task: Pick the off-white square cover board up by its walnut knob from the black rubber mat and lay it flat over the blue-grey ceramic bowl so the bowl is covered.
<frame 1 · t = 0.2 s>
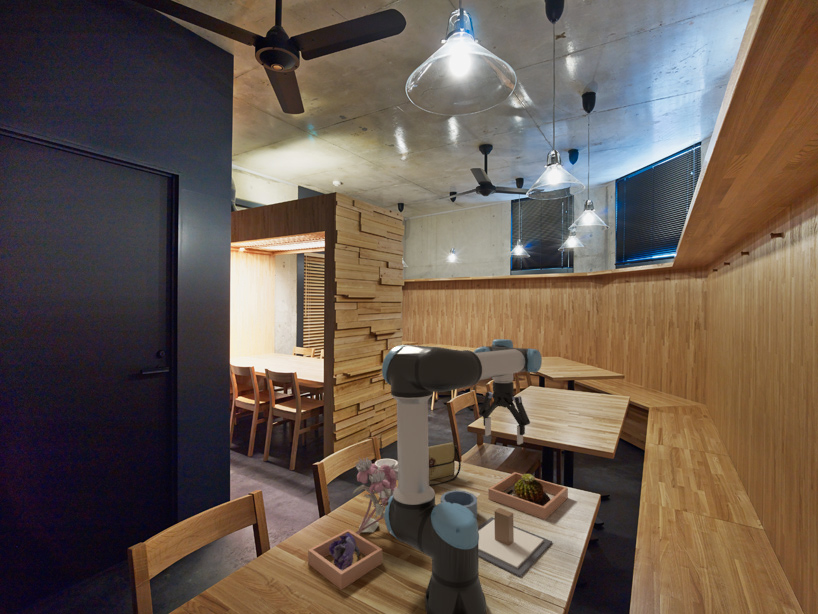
hand: (503, 439, 140), 27 cm above the table, tool pointing down, fingers open, 13 cm apart
clutch purse: (432, 482, 168), on the table
bowl: (459, 515, 140), on the table
flower 2: (389, 530, 130), on the table
cactus tray: (528, 498, 152), on the table
foam cup: (386, 495, 156), on the table
flower tray: (345, 563, 113), on the table
flower: (345, 563, 113), resting in flower tray
cactus: (528, 500, 152), resting in cactus tray
rubber mat: (504, 544, 122), on the table
cover board: (504, 527, 122), on the rubber mat
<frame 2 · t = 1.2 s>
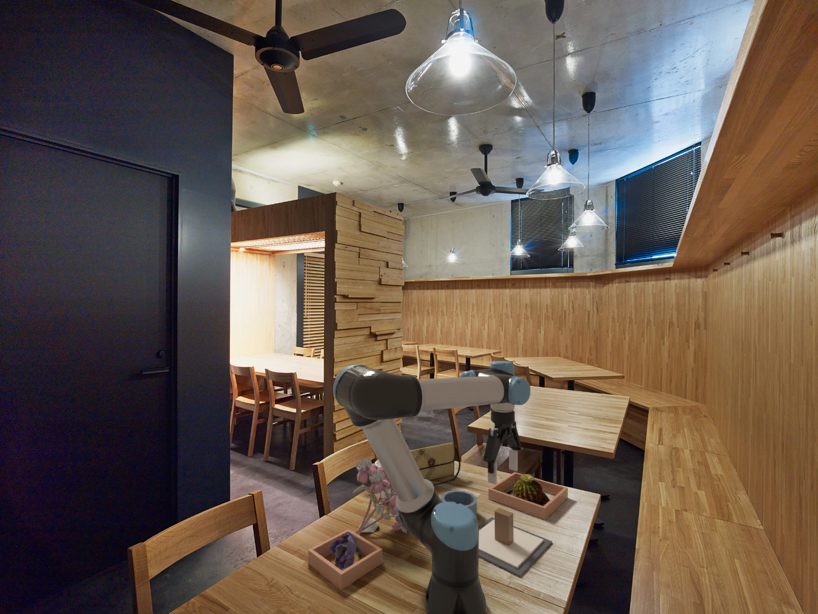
hand: (503, 476, 122), 21 cm above the table, tool pointing down, fingers open, 13 cm apart
nothing on the table moved.
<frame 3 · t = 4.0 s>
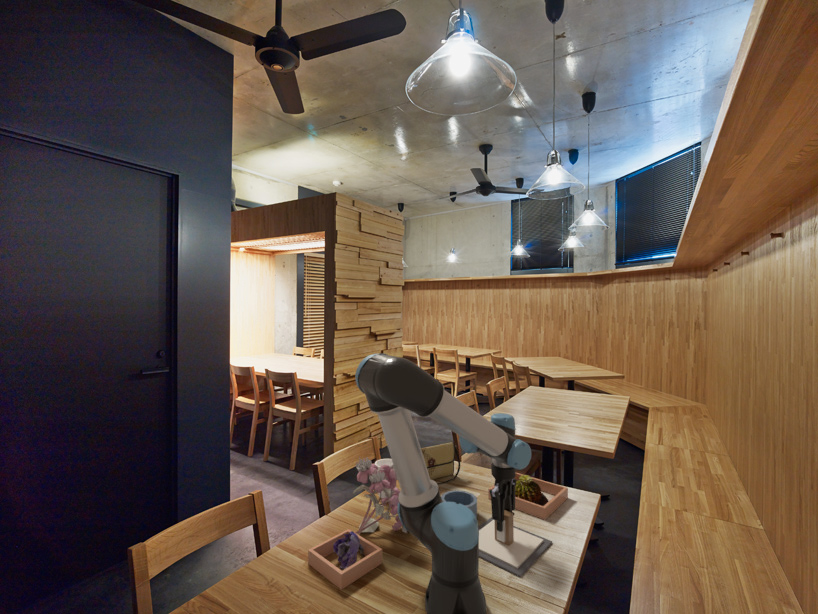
hand: (504, 537, 122), 2 cm above the table, tool pointing down, fingers closed on cover board, 3 cm apart
flower: (349, 561, 114), resting in flower tray
cactus: (525, 501, 151), resting in cactus tray
cover board: (504, 527, 122), on the rubber mat, touching gripper
everything else where it was.
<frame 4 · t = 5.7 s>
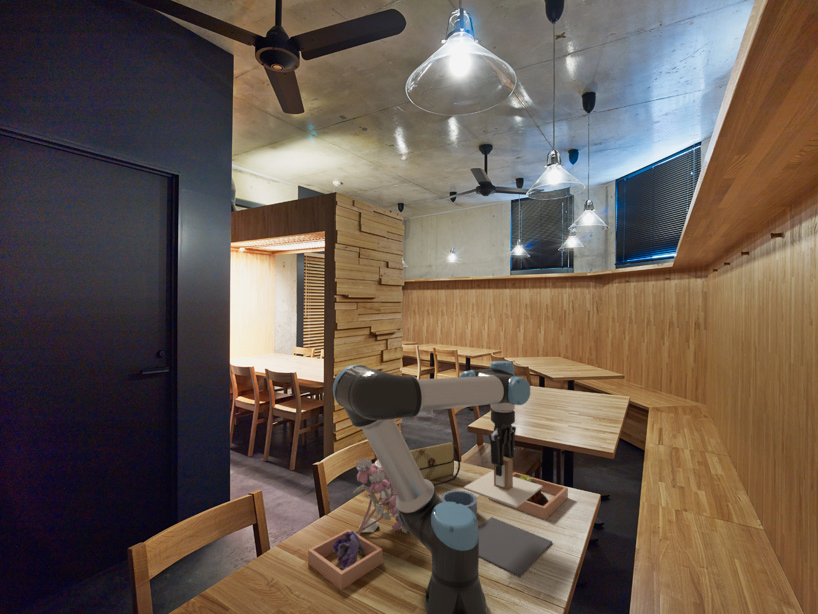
hand: (503, 483, 122), 19 cm above the table, tool pointing down, fingers closed on cover board, 3 cm apart
flower: (349, 561, 114), resting in flower tray
cover board: (503, 473, 122), point 22 cm above the table, touching gripper
everything else where it was.
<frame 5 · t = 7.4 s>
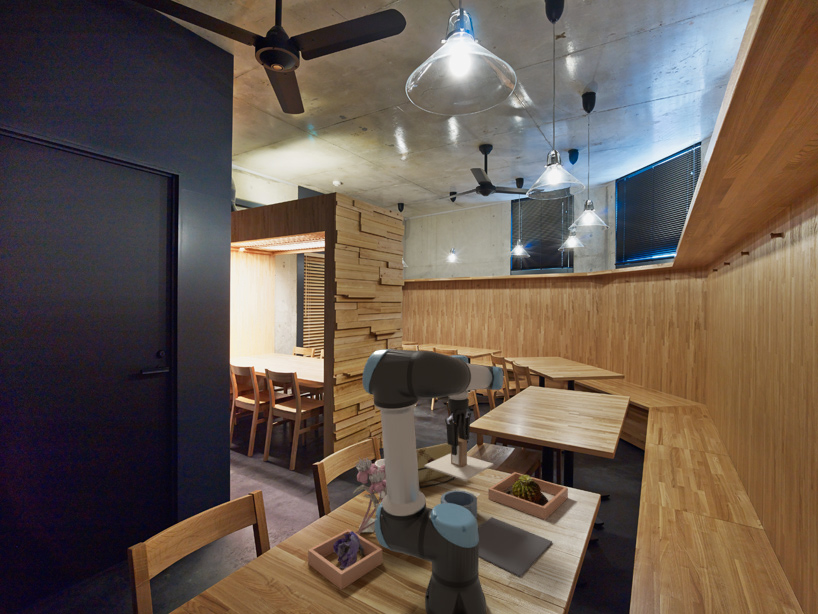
hand: (458, 461, 140), 19 cm above the table, tool pointing down, fingers closed on cover board, 3 cm apart
cover board: (458, 452, 140), point 23 cm above the table, touching gripper
everything else where it was.
when the fingers open (10 cm above the table, at t = 9.7 s): cover board drops 2 cm, resting on bowl.
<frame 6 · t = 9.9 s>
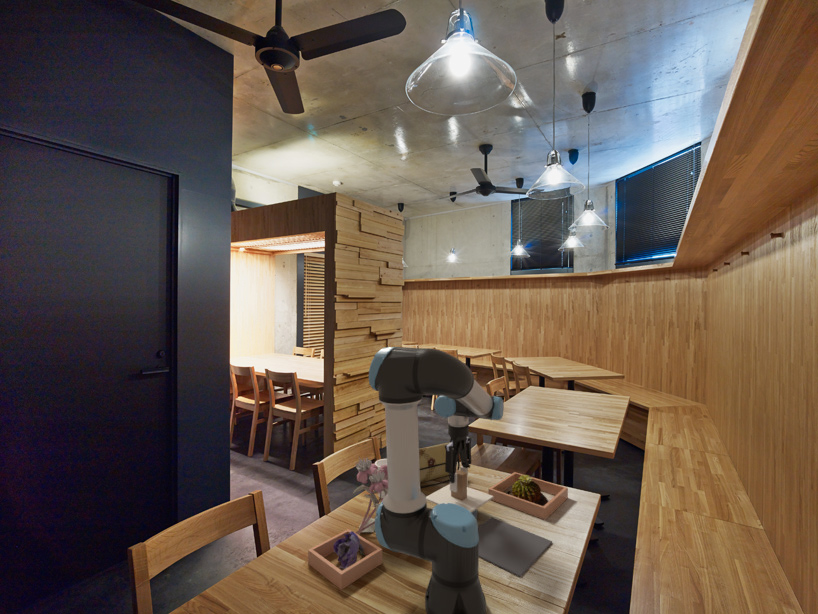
hand: (458, 487, 140), 10 cm above the table, tool pointing down, fingers open, 6 cm apart
cover board: (458, 485, 140), on the bowl, point 11 cm above the table
everything else where it was.
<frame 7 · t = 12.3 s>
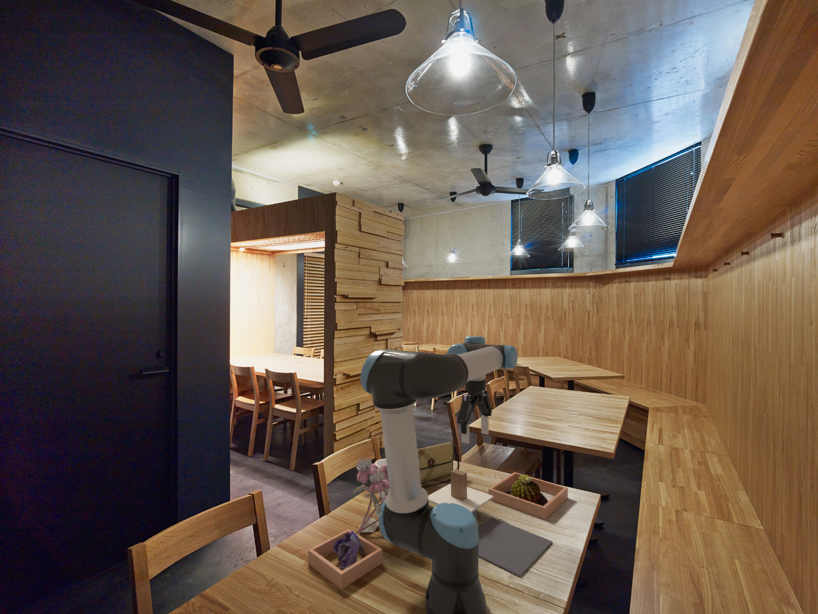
hand: (475, 438, 138), 29 cm above the table, tool pointing down, fingers open, 13 cm apart
nothing on the table moved.
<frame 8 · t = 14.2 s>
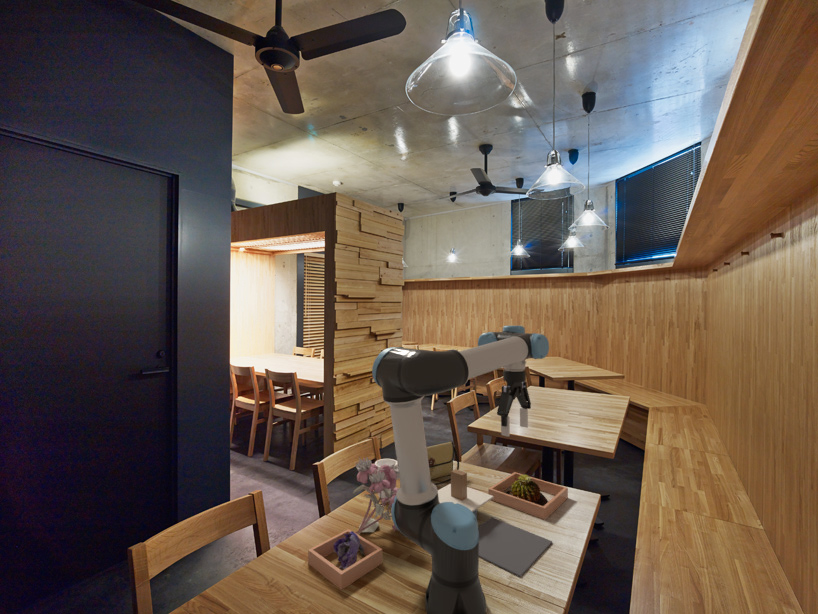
hand: (515, 431, 133), 33 cm above the table, tool pointing down, fingers open, 13 cm apart
nothing on the table moved.
at the end: cover board 0.1 cm off-centre on the bowl, point 10.8 cm above the bowl's base; cover board tilted 0°; the gripper is holding nothing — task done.
